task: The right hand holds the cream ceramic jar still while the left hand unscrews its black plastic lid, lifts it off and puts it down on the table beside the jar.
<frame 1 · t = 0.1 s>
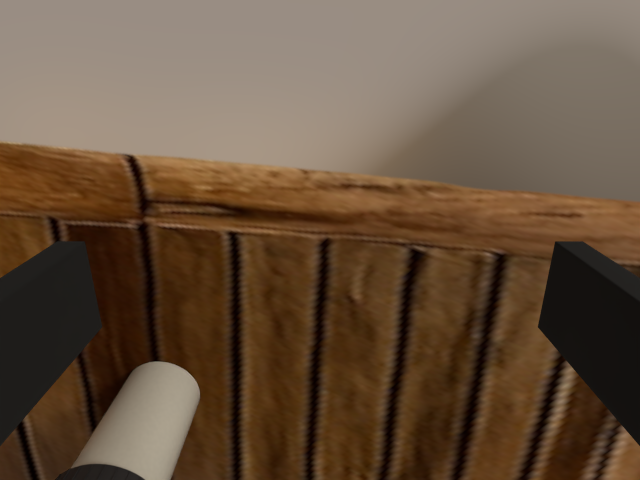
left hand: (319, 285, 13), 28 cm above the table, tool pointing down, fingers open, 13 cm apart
jar: (162, 392, 48), on the table
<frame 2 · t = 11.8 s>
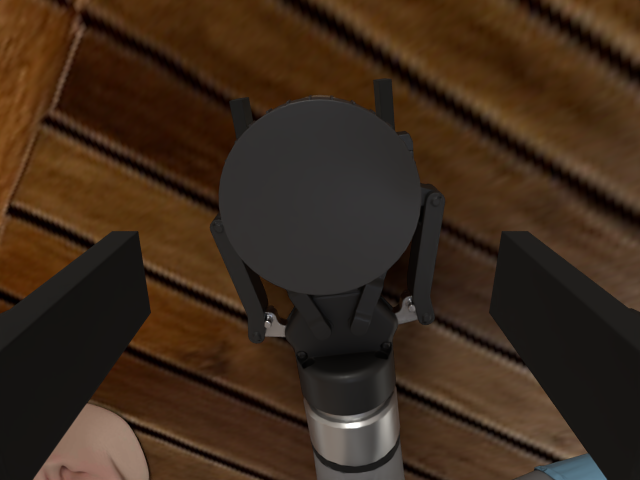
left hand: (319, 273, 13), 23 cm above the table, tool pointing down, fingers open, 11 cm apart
right hand: (310, 89, 27), fingers closed on jar, 8 cm apart
lid: (320, 203, 20), point 15 cm above the table, screwed on, not yet turned
anatomical model: (90, 447, 46), on the table
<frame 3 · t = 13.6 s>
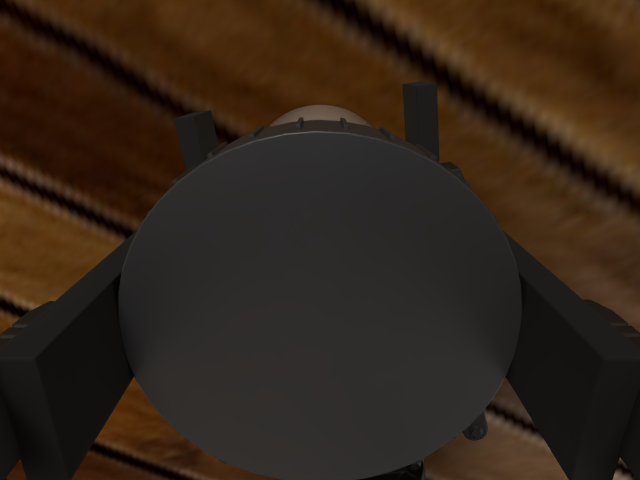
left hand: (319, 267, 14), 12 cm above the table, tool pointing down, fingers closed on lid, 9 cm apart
lid: (320, 327, 10), point 15 cm above the table, screwed on, not yet turned, touching left hand
jar: (320, 179, 25), on the table, touching right hand
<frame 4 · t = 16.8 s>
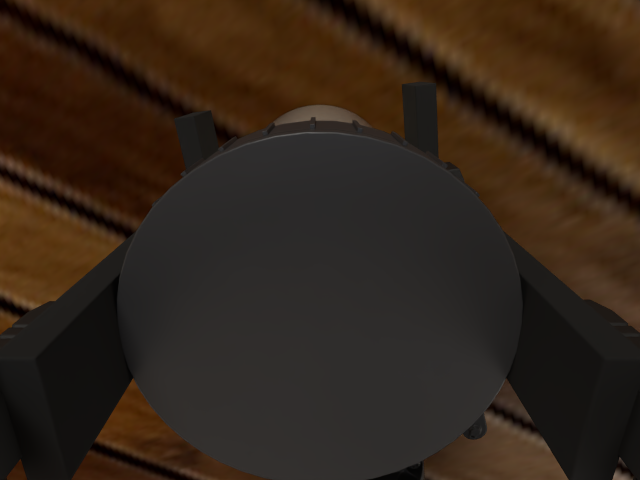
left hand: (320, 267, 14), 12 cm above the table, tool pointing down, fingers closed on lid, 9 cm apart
lid: (319, 328, 10), point 16 cm above the table, turned 92° so far, risen 0.1 cm, still on its thread, touching left hand
jar: (319, 179, 25), on the table, touching right hand
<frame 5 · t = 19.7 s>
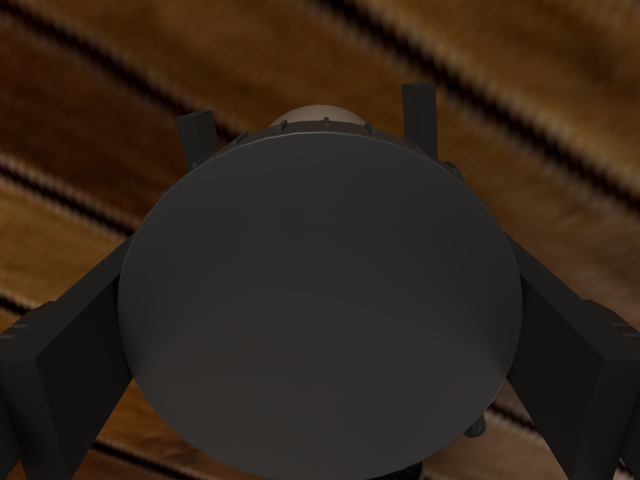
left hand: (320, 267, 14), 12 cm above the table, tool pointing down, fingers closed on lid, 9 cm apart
lid: (319, 328, 10), point 16 cm above the table, turned 185° so far, risen 0.2 cm, still on its thread, touching left hand
jar: (320, 179, 25), on the table, touching right hand
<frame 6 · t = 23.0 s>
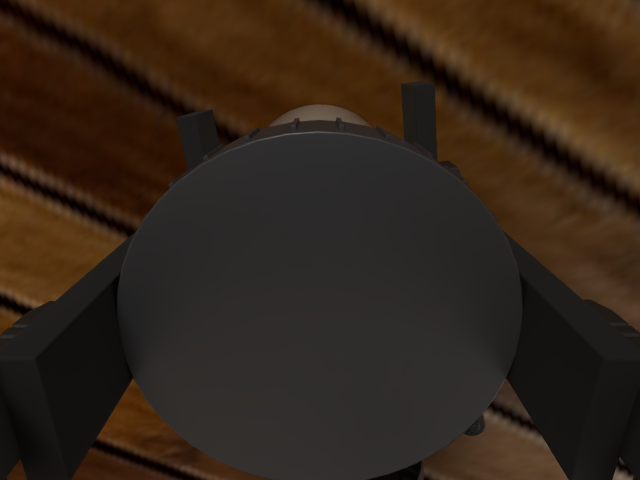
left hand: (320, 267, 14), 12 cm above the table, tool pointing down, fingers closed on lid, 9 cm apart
lid: (319, 328, 10), point 16 cm above the table, turned 277° so far, risen 0.3 cm, still on its thread, touching left hand
jar: (319, 178, 25), on the table, touching right hand
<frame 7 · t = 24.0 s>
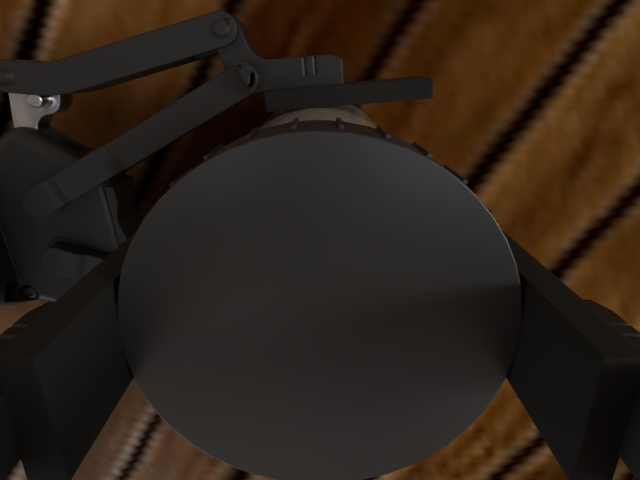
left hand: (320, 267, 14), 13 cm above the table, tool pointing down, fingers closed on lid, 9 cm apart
right hand: (423, 190, 20), fingers closed on jar, 8 cm apart
lid: (319, 328, 10), point 17 cm above the table, off its thread, touching left hand
jar: (319, 168, 26), on the table, touching right hand
when the left hand's fingers open (0 cm above the table, at t = 29.2 s): lid drops 2 cm, point 2 cm above the table.
when the right hand's fingers open (6 cm above the table, at t = 30.2 s): jar stays where it is, on the table.
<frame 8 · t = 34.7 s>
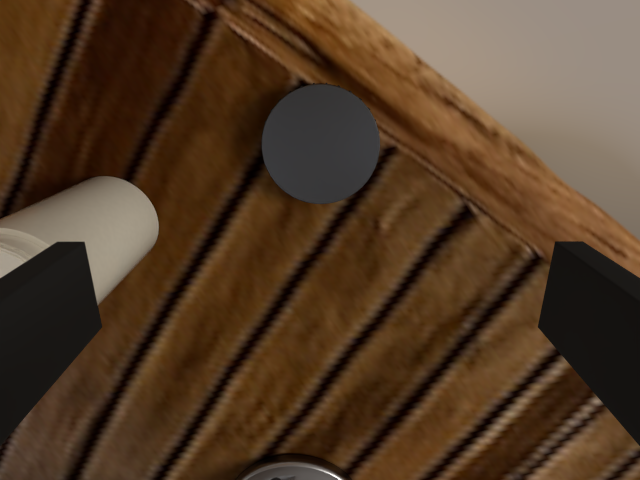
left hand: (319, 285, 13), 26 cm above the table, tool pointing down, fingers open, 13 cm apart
lid: (320, 146, 35), point 2 cm above the table, off its thread
jar: (112, 221, 39), on the table
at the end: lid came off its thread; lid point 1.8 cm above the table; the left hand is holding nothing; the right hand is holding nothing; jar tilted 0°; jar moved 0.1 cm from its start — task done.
